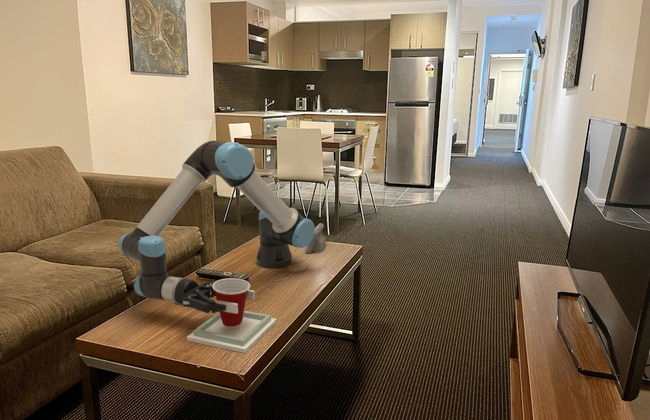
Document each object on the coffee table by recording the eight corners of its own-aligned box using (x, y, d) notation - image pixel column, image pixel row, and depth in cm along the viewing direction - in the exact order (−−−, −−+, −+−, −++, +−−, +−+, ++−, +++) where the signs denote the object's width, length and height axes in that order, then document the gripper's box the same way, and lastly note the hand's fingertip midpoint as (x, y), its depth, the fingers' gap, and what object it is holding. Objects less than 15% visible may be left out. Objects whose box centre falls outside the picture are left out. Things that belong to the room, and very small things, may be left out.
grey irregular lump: (314, 243, 220) (314, 221, 218) (331, 245, 217) (331, 223, 214) (298, 253, 206) (298, 230, 204) (317, 255, 202) (316, 232, 200)
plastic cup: (243, 332, 129) (242, 293, 126) (207, 329, 131) (205, 289, 129) (256, 315, 139) (255, 278, 137) (223, 312, 142) (221, 275, 139)
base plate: (224, 312, 148) (223, 304, 147) (277, 322, 141) (276, 314, 141) (187, 340, 131) (186, 332, 130) (245, 353, 124) (245, 344, 124)
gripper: (203, 289, 151) (264, 299, 143) (157, 317, 131) (225, 330, 123) (201, 267, 149) (263, 276, 141) (155, 292, 129) (224, 304, 121)
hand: (245, 301), depth 132 cm, fingers closed on plastic cup, 9 cm apart
